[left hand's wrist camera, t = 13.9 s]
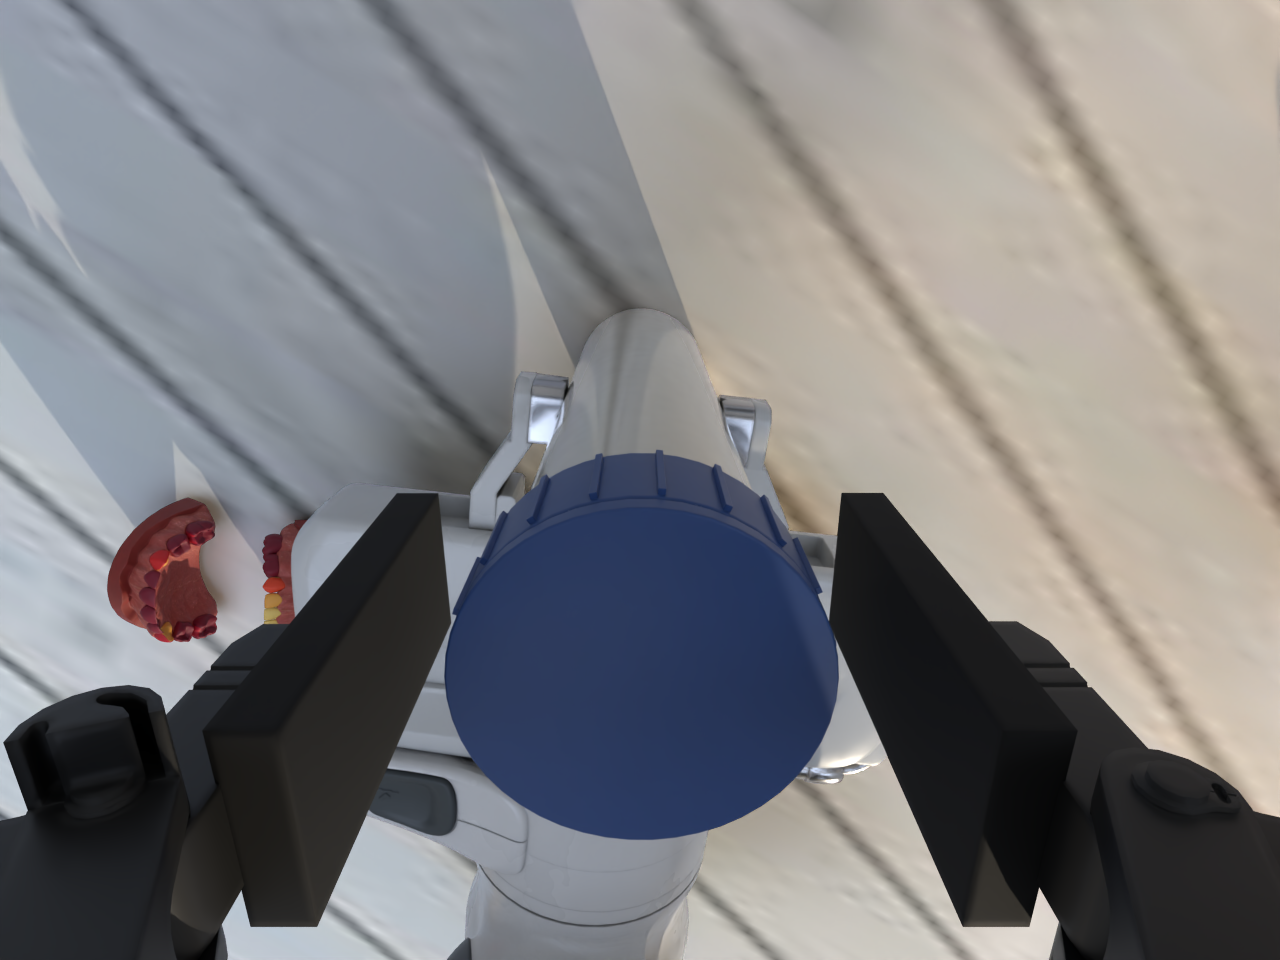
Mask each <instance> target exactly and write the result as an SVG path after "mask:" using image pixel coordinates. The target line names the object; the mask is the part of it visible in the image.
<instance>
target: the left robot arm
mask: <svg viewBox="0 0 1280 960" xmlns="http://www.w3.org/2000/svg"><path fill="white" fill-rule="evenodd" d="M829 623H830V626H831V628H832V631H833V634H834V636H835V639H836V641H837V643H838V645H839V648H840V650H841V652H842V654H843V657H844V659H845V661H846V664H847V666H848V668H849V670H850V673H851V675H852V677H853V679H854V682H855V684H856V686H857V688H858V691H859V693H860V695H861V697H862V700H863V702H864V704H865V707H866V709H867V711H868V713H869V716H870V718H871V720H872V722H873V725H874V727H875V729H876V731H877V734H878V736H879V738H880V740H881V743H882V745H883V747H884V749H885V752H886V754H887V756H888V759H889V761H890V763H891V765H892V768H893V770H894V772H895V774H896V777H897V779H898V781H899V783H900V786H901V788H902V790H903V792H904V795H905V797H906V799H907V801H908V804H909V806H910V808H911V811H912V813H913V815H914V817H915V820H916V822H917V824H918V826H919V829H920V831H921V833H922V835H923V838H924V840H925V842H926V844H927V847H928V849H929V851H930V853H931V856H932V858H933V860H934V863H935V865H936V867H937V869H938V872H939V874H940V876H941V878H942V881H943V883H944V885H945V887H946V890H947V892H948V894H949V896H950V899H951V901H952V903H953V905H954V908H955V910H956V912H957V915H958V917H959V919H960V921H961V924H962V926H963V927H1029V926H1030V922H1031V918H1032V914H1033V910H1034V906H1035V902H1036V898H1037V894H1038V890H1039V888H1040V889H1041V891H1042V893H1043V894H1044V896H1045V898H1046V900H1047V901H1048V903H1049V905H1050V907H1051V908H1052V910H1053V912H1054V914H1055V915H1056V917H1057V919H1058V920H1059V924H1058V928H1057V931H1056V935H1055V939H1054V943H1053V946H1052V950H1051V954H1050V958H1049V960H1280V817H1275V816H1271V815H1266V814H1262V813H1258V812H1254V811H1253V810H1252V808H1251V807H1250V806H1249V804H1248V803H1247V802H1246V800H1245V799H1244V798H1243V796H1242V795H1241V794H1240V792H1239V791H1238V790H1237V789H1235V788H1234V787H1233V786H1231V785H1230V784H1229V783H1228V782H1226V781H1225V780H1224V779H1222V778H1221V777H1220V776H1218V775H1217V774H1216V773H1214V772H1212V771H1210V770H1208V769H1206V768H1204V767H1202V766H1200V765H1198V764H1196V763H1194V762H1192V761H1191V760H1189V759H1186V758H1183V757H1179V756H1176V755H1173V754H1170V753H1167V752H1163V751H1160V750H1153V749H1148V748H1147V747H1146V746H1145V745H1144V744H1143V743H1142V741H1141V740H1140V739H1139V738H1138V737H1137V736H1136V735H1135V734H1134V733H1133V732H1132V731H1131V730H1130V728H1129V727H1128V726H1127V725H1126V724H1125V723H1124V722H1123V721H1122V720H1121V719H1120V718H1119V716H1118V715H1117V714H1116V713H1115V712H1114V711H1113V710H1112V709H1111V708H1110V707H1109V706H1108V705H1107V703H1106V702H1105V701H1104V700H1103V699H1102V698H1101V697H1100V696H1099V695H1098V694H1097V693H1096V692H1095V690H1094V689H1093V688H1092V687H1088V686H1087V682H1086V681H1085V680H1084V678H1083V677H1082V676H1081V675H1080V674H1079V673H1078V672H1077V671H1076V670H1075V669H1074V668H1070V663H1069V662H1068V661H1067V660H1066V659H1065V658H1064V657H1063V656H1062V655H1061V653H1060V652H1059V651H1058V650H1057V649H1056V648H1055V647H1054V646H1053V645H1052V644H1051V643H1050V642H1049V641H1048V640H1047V639H1045V638H1043V637H1042V636H1040V635H1038V634H1037V633H1035V632H1033V631H1032V630H1030V629H1029V628H1027V627H1025V626H1024V625H1022V624H1020V623H1019V622H1017V621H988V620H987V619H986V618H985V617H984V615H983V614H982V613H981V612H980V611H979V609H978V608H977V607H976V606H975V604H974V603H973V602H972V601H971V600H970V598H969V597H968V596H967V595H966V594H965V592H964V591H963V590H962V589H961V587H960V586H959V585H958V584H957V583H956V581H955V580H954V579H953V578H952V576H951V575H950V574H949V573H948V572H947V570H946V569H945V568H944V567H943V565H942V564H941V563H940V562H939V561H938V559H937V558H936V557H935V556H934V554H933V553H932V552H931V551H930V550H929V548H928V547H927V546H926V545H925V544H924V542H923V541H922V540H921V539H920V537H919V536H918V535H917V534H916V533H915V531H914V530H913V529H912V528H911V526H910V525H909V524H908V523H907V522H906V520H905V519H904V518H903V517H902V515H901V514H900V513H899V512H898V511H897V509H896V508H895V507H894V506H893V504H892V503H891V502H890V501H889V500H888V498H887V497H886V496H885V495H884V494H883V493H842V494H841V504H840V514H839V524H838V534H837V544H836V554H835V564H834V574H833V584H832V594H831V604H830V614H829ZM450 625H451V614H450V604H449V594H448V584H447V574H446V564H445V554H444V544H443V534H442V524H441V514H440V504H439V494H438V493H396V495H395V496H394V497H393V498H392V500H391V501H390V502H389V503H388V504H387V506H386V507H385V508H384V509H383V511H382V512H381V513H380V514H379V515H378V517H377V518H376V519H375V520H374V522H373V523H372V524H371V525H370V526H369V528H368V529H367V530H366V531H365V533H364V534H363V535H362V536H361V537H360V539H359V540H358V541H357V542H356V543H355V545H354V546H353V547H352V548H351V550H350V551H349V552H348V553H347V554H346V556H345V557H344V558H343V559H342V561H341V562H340V563H339V564H338V565H337V567H336V568H335V569H334V570H333V572H332V573H331V574H330V575H329V576H328V578H327V579H326V580H325V581H324V583H323V584H322V585H321V586H320V587H319V589H318V590H317V591H316V592H315V593H314V595H313V596H312V597H311V598H310V600H309V601H308V602H307V603H306V604H305V606H304V607H303V608H302V609H301V611H300V612H299V613H298V614H297V615H296V617H295V618H294V619H293V620H292V622H291V623H290V624H263V625H261V626H259V627H258V628H256V629H254V630H253V631H251V632H249V633H248V634H246V635H245V636H243V637H241V638H240V639H238V640H236V641H235V642H233V643H232V644H231V645H230V646H229V647H228V648H227V649H226V650H225V651H224V652H223V653H222V654H221V656H220V657H219V658H218V659H217V660H216V661H215V662H214V663H213V664H212V665H211V670H210V671H206V672H205V673H204V674H203V675H202V676H201V677H200V679H199V680H198V681H197V682H196V683H195V684H194V688H193V690H189V691H188V692H187V693H186V694H185V695H184V696H183V697H182V698H181V699H180V700H179V702H178V703H177V704H176V705H175V706H174V707H173V708H172V709H171V710H170V711H169V712H168V714H167V715H166V713H165V709H164V705H163V701H162V698H161V696H159V695H158V694H157V693H155V692H154V691H153V690H151V689H150V688H144V687H138V686H131V685H125V686H115V687H105V688H100V689H96V690H92V691H89V692H85V693H81V694H78V695H74V696H71V697H69V698H67V699H64V700H62V701H60V702H58V703H55V704H53V705H51V706H49V707H46V708H44V709H42V710H41V711H39V712H38V713H36V714H35V715H33V716H32V717H30V718H29V719H27V720H26V721H24V722H23V723H21V724H20V725H19V726H18V727H17V728H16V729H15V730H14V731H13V732H12V733H11V734H10V736H9V737H8V738H7V739H6V740H5V741H4V742H3V743H4V746H5V748H6V751H7V754H8V757H9V760H10V762H11V765H12V768H13V771H14V773H15V776H16V779H17V782H18V784H19V787H20V790H21V793H22V795H23V798H24V801H25V804H26V806H27V809H28V811H27V813H26V815H24V816H20V817H16V818H11V819H7V820H2V821H0V960H227V958H228V953H227V946H226V939H225V935H224V931H223V928H222V923H223V921H224V919H225V918H226V916H227V914H228V912H229V911H230V909H231V907H232V905H233V904H234V902H235V900H236V898H237V897H238V895H239V893H240V891H241V890H242V894H243V898H244V902H245V906H246V910H247V914H248V918H249V922H250V926H251V927H317V926H318V924H319V921H320V919H321V917H322V915H323V912H324V910H325V908H326V905H327V903H328V901H329V899H330V896H331V894H332V892H333V890H334V887H335V885H336V883H337V881H338V878H339V876H340V874H341V872H342V869H343V867H344V865H345V862H346V860H347V858H348V856H349V853H350V851H351V849H352V847H353V844H354V842H355V840H356V838H357V835H358V833H359V831H360V829H361V826H362V824H363V822H364V820H365V817H366V815H367V813H368V810H369V808H370V806H371V804H372V801H373V799H374V797H375V795H376V792H377V790H378V788H379V786H380V783H381V781H382V779H383V777H384V774H385V772H386V770H387V768H388V765H389V763H390V761H391V758H392V756H393V754H394V752H395V749H396V747H397V745H398V743H399V740H400V738H401V736H402V734H403V731H404V729H405V727H406V725H407V722H408V720H409V718H410V716H411V713H412V711H413V709H414V706H415V704H416V702H417V700H418V697H419V695H420V693H421V691H422V688H423V686H424V684H425V682H426V679H427V677H428V675H429V673H430V670H431V668H432V666H433V663H434V661H435V659H436V657H437V654H438V652H439V650H440V648H441V645H442V643H443V641H444V639H445V636H446V634H447V632H448V630H449V627H450Z"/></svg>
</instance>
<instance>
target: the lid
mask: <svg viewBox="0 0 1280 960" xmlns="http://www.w3.org/2000/svg"><path fill="white" fill-rule="evenodd" d="M822 592H823V591H822V589H821V587H820V584H819V582H818V580H817V578H816V576H815V573H814V571H813V569H812V567H811V565H810V563H809V560H808V558H807V556H806V554H805V552H804V549H803V547H802V545H801V543H800V541H799V539H798V537H796V538H794V539H792V537H791V535H790V533H789V532H788V530H787V528H786V526H785V525H784V524H783V522H782V521H781V520H780V518H779V517H778V516H777V514H776V513H775V512H774V510H773V508H772V506H771V503H770V501H769V499H768V497H766V496H765V495H763V496H762V497H760V496H759V495H758V494H756V493H755V492H754V491H752V490H751V489H750V488H748V487H747V486H746V485H744V484H743V483H742V482H740V481H739V480H737V479H735V478H733V477H732V476H730V475H728V474H726V473H724V472H723V471H722V468H721V466H719V465H717V464H714V466H713V467H711V466H708V465H706V464H703V463H701V462H698V461H694V460H690V459H686V458H682V457H678V456H672V455H664V454H663V450H656V453H627V454H619V455H611V456H605V457H603V454H602V453H600V454H596V455H595V459H593V460H589V461H585V462H582V463H580V464H577V465H575V466H572V467H570V468H567V469H564V470H562V471H561V472H559V473H557V474H555V475H553V476H551V477H550V478H549V477H548V476H547V474H546V475H544V476H543V477H541V479H540V482H539V485H537V486H536V487H535V488H533V489H532V490H531V491H529V492H528V493H526V494H525V495H524V496H523V497H522V498H521V499H520V500H519V501H518V502H517V503H516V504H515V505H514V506H513V507H512V508H511V509H510V510H509V512H508V513H506V512H505V511H502V513H501V514H500V515H499V518H498V520H497V522H496V524H495V527H494V529H493V531H492V533H491V536H490V538H489V540H488V542H487V545H486V547H485V549H484V551H483V554H482V556H481V558H480V557H477V558H476V560H475V562H474V565H473V567H472V569H471V571H470V573H469V576H468V578H467V580H466V582H465V584H464V587H463V589H462V591H461V593H460V596H459V598H458V600H457V602H456V604H455V607H454V609H453V612H452V614H453V615H456V618H455V621H454V624H453V626H452V629H451V631H450V635H449V640H448V644H447V649H446V654H445V670H444V679H445V689H446V698H447V702H448V706H449V710H450V714H451V718H452V721H453V723H454V726H455V728H456V730H457V733H458V735H459V737H460V740H461V741H462V743H463V745H464V746H465V748H466V750H467V751H468V753H469V755H470V756H471V758H472V759H473V761H474V762H475V763H476V764H477V766H478V767H479V768H480V769H481V771H482V772H483V773H484V774H485V776H486V777H487V778H489V779H490V780H491V781H492V782H493V783H494V784H495V785H496V786H497V787H498V788H499V789H500V790H501V791H502V792H503V793H505V794H506V795H507V796H509V797H510V798H511V799H513V800H514V801H515V802H517V803H518V804H519V805H521V806H523V807H525V808H526V809H528V810H530V811H531V812H533V813H535V814H537V815H538V816H540V817H542V818H545V819H547V820H549V821H551V822H554V823H556V824H558V825H560V826H564V827H567V828H570V829H573V830H576V831H579V832H582V833H587V834H592V835H596V836H601V837H606V838H616V839H625V840H658V839H668V838H677V837H682V836H687V835H692V834H697V833H701V832H704V831H707V830H710V829H714V828H717V827H720V826H723V825H725V824H727V823H730V822H732V821H734V820H737V819H739V818H741V817H743V816H745V815H747V814H748V813H750V812H752V811H754V810H755V809H757V808H759V807H761V806H762V805H764V804H765V803H766V802H768V801H769V800H770V799H772V798H773V797H775V796H776V795H777V794H779V793H780V792H781V791H782V790H783V789H784V788H785V787H786V786H787V785H789V784H790V783H791V782H792V781H793V780H794V779H795V778H796V777H797V776H798V775H799V773H800V772H801V771H802V770H803V768H804V767H805V766H806V765H807V764H808V762H809V761H810V760H811V758H812V757H813V755H814V753H815V752H816V750H817V749H818V747H819V745H820V744H821V742H822V740H823V738H824V735H825V733H826V731H827V729H828V726H829V724H830V722H831V718H832V714H833V711H834V707H835V703H836V700H837V691H838V683H839V666H838V653H837V648H836V647H837V644H836V639H835V637H834V634H833V631H832V628H831V626H830V623H829V620H828V618H827V615H826V612H825V610H824V608H823V605H822V603H821V601H820V599H819V596H818V594H820V593H822Z"/></svg>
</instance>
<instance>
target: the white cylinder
mask: <svg viewBox="0 0 1280 960" xmlns="http://www.w3.org/2000/svg"><path fill="white" fill-rule="evenodd" d="M656 450H663V454H664V455H672V456H678V457H682V458H686V459H690V460H694V461H698V462H701V463H703V464H706V465H708V466H711V467H713V466H714V464H717V465H719V466H721V468H722V471H723V472H724V473H726V474H728V475H730V476H732V477H733V478H735V479H737V480H739V481H740V482H742V483H743V484H744V485H746V486H747V487H748V488H750V489H751V490H752V488H751V485H750V482H749V480H748V477H747V474H746V472H745V469H744V466H743V464H742V461H741V458H740V456H739V453H738V450H737V448H736V445H735V443H734V440H733V437H732V435H731V432H730V429H729V427H728V424H727V421H726V419H725V416H724V413H723V411H722V408H721V405H720V403H719V400H718V397H717V395H716V392H715V390H714V387H713V384H712V382H711V379H710V376H709V374H708V371H707V368H706V366H705V363H704V360H703V358H702V355H701V352H700V350H699V347H698V345H697V342H696V341H695V339H694V337H693V335H692V334H691V333H690V331H689V330H688V329H687V328H686V327H685V326H684V325H683V324H682V323H681V322H680V321H678V320H677V319H676V318H674V317H672V316H670V315H669V314H666V313H664V312H661V311H658V310H654V309H647V308H635V309H628V310H625V311H621V312H619V313H616V314H614V315H612V316H610V317H609V318H607V319H605V320H604V321H603V322H602V323H600V324H599V325H598V326H597V327H596V328H595V329H594V331H593V332H592V333H591V335H590V336H589V338H588V340H587V341H586V343H585V346H584V348H583V351H582V353H581V356H580V359H579V361H578V364H577V367H576V369H575V372H574V375H573V377H572V380H571V383H570V385H569V388H568V391H567V393H566V396H565V399H564V401H563V404H562V407H561V409H560V412H559V415H558V417H557V420H556V423H555V425H554V428H553V431H552V433H551V436H550V439H549V441H548V444H547V447H546V449H545V452H544V455H543V457H542V460H541V463H540V465H539V468H538V471H537V473H536V476H535V479H534V481H533V484H532V487H531V489H530V491H531V490H532V489H533V488H535V487H536V486H537V485H539V482H540V479H541V477H543V476H544V475H546V474H547V476H548V477H549V478H550V477H551V476H553V475H555V474H557V473H559V472H561V471H562V470H564V469H567V468H570V467H572V466H575V465H577V464H580V463H582V462H585V461H589V460H593V459H595V455H596V454H600V453H602V454H603V457H605V456H611V455H619V454H627V453H656ZM752 491H753V490H752Z"/></svg>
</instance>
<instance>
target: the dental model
mask: <svg viewBox="0 0 1280 960" xmlns="http://www.w3.org/2000/svg"><path fill="white" fill-rule="evenodd" d="M306 521H307V520H295V523H294V524H290V525H288V526H286V527H285V528H283V529H282V531H281V533H280V535H279V534H270V535H267V536H266V537H265V540H264V542H263V543H264V546H265V547H264V548H263V549H262V552H263V554H264V555H263V559H264V560H265V563H264V564H263V570H264V573H265V574H266V576H267V577H268V578H269V579H268V580H267V581H266V582H265V583H264V585H263V588H264V590H265V591H267V592H269V593H270V594H267V595H266V596H265V608H267V609H265V610H264V620H268V621H264V624H290V623H291V622H292V620H293V619H294V618H295V612H294V603H293V592H292V578H291V552H292V546H293V543H294V540H295V538H296V536H297V534H298V532H299V530H300V529H301V528H302V526H303V525H304V524H305V522H306ZM214 531H215V523H214V520H213V518H212V516H211V514H210V512H209V510H208V508H207V507H206V505H205V504H203V503H201V502H198V501H196V500H193V499H191V498H184V499H182V500H179V501H177V502H174V503H172V504H170V505H168V506H166V507H164V508H162V509H160V510H159V511H157V512H156V513H154V514H152V515H151V516H150V517H148V518H147V519H146V520H145V521H143V522H142V523H141V524H140V525H139V526H138V527H137V528H135V529H134V530H133V531H132V533H131V534H130V535H129V537H128V538H127V539H126V540H125V541H124V543H123V544H122V545H121V547H120V548H119V550H118V552H117V554H116V556H115V558H114V560H113V563H112V565H111V568H110V571H109V575H108V584H107V592H108V597H109V601H110V604H111V606H112V608H113V609H114V610H115V612H116V613H117V615H118V616H120V617H121V618H122V619H124V620H126V621H127V622H129V623H131V624H134V625H136V626H138V627H141V628H145V629H147V630H148V632H149V633H150V634H151V635H152V636H153V637H155V638H156V639H158V640H159V641H162V642H172V641H173V640H175V641H179V642H189V641H190V639H191V638H192V637H194V638H196V639H200V638H205V637H206V636H207V635H211V634H214V633H215V632H216V630H217V626H216V623H215V622H216V620H217V617H216V615H217V607H216V602H215V600H214V599H213V597H212V596H211V595H210V594H209V592H208V590H207V588H206V587H205V584H204V582H203V579H202V576H201V573H200V567H199V551H200V547H201V545H203V544H204V543H205V542H206V541H208V540H210V539H212V538H213V537H214V536H215V533H214ZM274 592H277V593H278V594H277V593H274ZM272 619H274V620H272Z"/></svg>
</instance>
